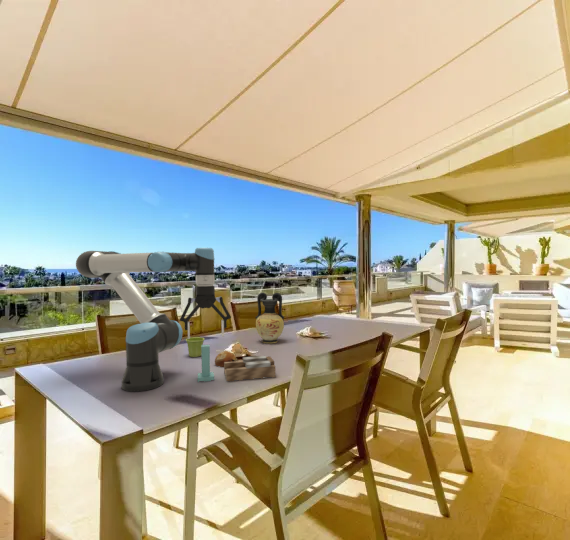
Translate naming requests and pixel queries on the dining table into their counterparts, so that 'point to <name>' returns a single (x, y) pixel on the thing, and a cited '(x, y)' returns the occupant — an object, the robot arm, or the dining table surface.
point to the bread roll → (224, 358)
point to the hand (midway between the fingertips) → (206, 337)
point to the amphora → (269, 318)
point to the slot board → (249, 368)
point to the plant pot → (195, 346)
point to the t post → (205, 365)
